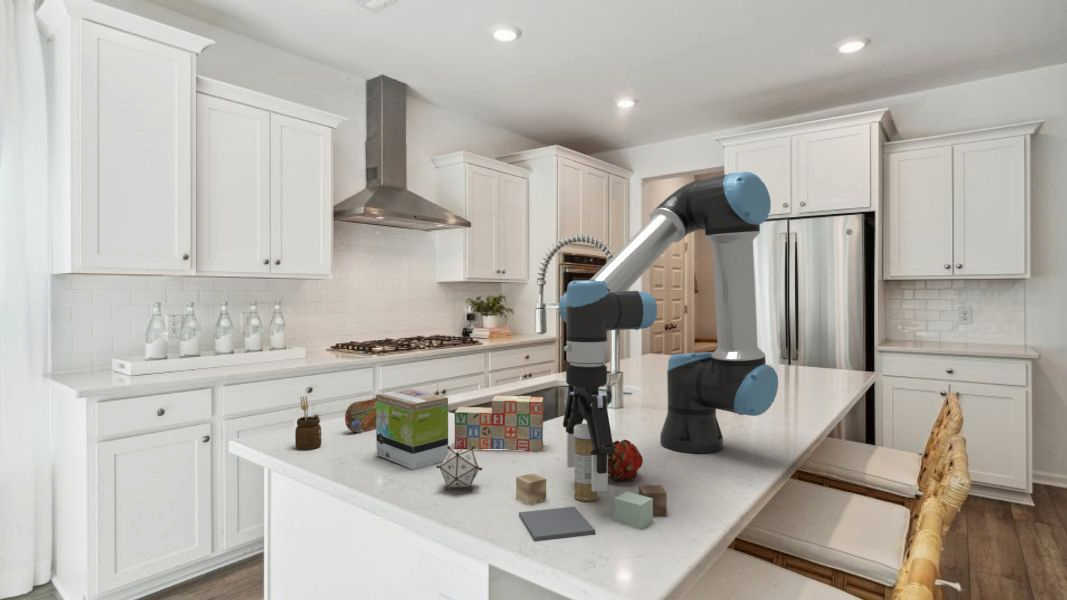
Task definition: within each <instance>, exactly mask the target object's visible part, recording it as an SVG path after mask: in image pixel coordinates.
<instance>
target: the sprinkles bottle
mask: <svg viewBox="0 0 1067 600" xmlns="http://www.w3.org/2000/svg"><path fill="white" fill-rule="evenodd" d="M574 438H575V453H574V467H573V468H574V476H573V477H574V494H573V496H574V498H575V499H576V500H579V501H581V502H593V501H596V500H597V499H598V498H599V494H598V492H599V491H595V492H593V491H592V455H591V454H590V453H591V451H592V450H594V449H593V445H592V441H591V437H590V433H589V429H588V425H587V423H582V424H578V425H575V426H574Z"/></svg>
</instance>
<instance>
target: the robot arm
mask: <svg viewBox="0 0 1067 600" xmlns="http://www.w3.org/2000/svg"><path fill="white" fill-rule="evenodd" d="M771 206H772V203H771V197H770V193H769V190H768V187H767V186H766V184H765V182H764V181H762V179H761V178H760V177H759V176H758V175H757V174H756V173H753V172H750V171H741V172H732V173H726V174H721V175H718V176H713V177H709V178H705V179H698V180H693V181H690V182H689V183H687V184H685V185H682V186H681V187H680V188H678V189H677V190H675V191H674V192H673V193H671V194H670V195H669V196H668V197H666V198H665V199H664V200H663V201H662V202H661V203H659V205H657V206H656V207H655V208H654V210H652V211H651V213H650V216H649V221H647V222H646V223H645V224H644V225H643V227H641V228H640V229H639V230H638V231H637V232H636V234H635V235H633V236H632V237H631V238H630V239H629V240H628V241H627V242H626V244H623V245H624V246H622V247H621V248H620V249H619V250H618V251H617V252H616V253H615V255H613V256H612V257H611V258H610V259H609V260H608V261H607V262H606V263H605V264H604V265H603V266H602V267H601V268H600V269H599V270H598V271H597V272H596V273H595V274H594V275H593V276H592V277H591V278H590V279H588V280H572V281H570V282H569V283H568V284H567V289H566V292H565V293H564V294H563V295H562V296H561V297H560V300H559V302H558V312H559V315H560V317H561V319H562V320H563V321H564V322H565V323H566V329H565V330H566V345H565V346H564V347H563V350H564V352H566V361H567V363H568V364H567V365H566V366H565V369H566V371H565V383H566V385H568V387H567V389H568V390H567V393H568V394H567V398H566V405H565V409H564V410H565V412H564V416H563V422H562V427H563V428H565V432H566V468H569V469H570V468H574V453H575V438H574V426H575V425H578V424H583V422H584V420H585V421H586V424H587V425H588V429H589V433H590V437H591V441H592V445H593V449H594V450H592V451H591V453H590V454H591V455H592V491H593V492H595V491H598V492H602V491H603V492H604V491H608V486H609V485H608V481H609V479H608V478H609V477H608V476H609V474H608V454H609V453H613V452H614V447H613V442H614V441H613V436H612V430H611V425H610V419H609V412H608V401H607V399H608V397H607V395H604V394H603V395H602V394H601V395H600V393H599V392H600V391H599V389H600V388H601V387H604V386H606V385H607V382H608V367H607V366H606V364H605V363H607V362H608V331H621V330H622V331H625V330H627V331H628V330H635V331H639V330H641V329H642V330H643V329H647V328H650V327H652V325H653V324H654V323H655V321H656V320H657V315H658V304H657V300H656V299H655V298H654V296H653V295H652V294H651V293H649V292H647V291H640V290H632V291H631V290H629V289H630V288H631V287H632V286H633V285H634V283H636V282H637V281H638V280H639V278H641V277H642V275H643V274H644V273H645V272H647V270H649V268H650V267H651V266H652V265H653V264H654V263H655V262H656V261H657V260H658V259H659V258H660V257H661V255H663V253H664V252H666V250H668V248H669V247H670V246H671V245H673V243H679V242H680V241H682V240H683V239H684V238H685V237H686V236H687V235H689V234H691V233H694V232H696V231H701V230H702V231H703V230H704V237H705V238H706V239H707V240H708V241H709V242H710V243H711V244H712V257H713V258H712V260H713V274H714V276H713V279H714V294H715V295H714V297H715V318H716V336H717V337H716V339H717V348H716V349H715V350H714V351H710V352H709V351H706V352H705V351H704V352H689V353H678V354H673V355H671V356H670V357H669V358H668V361H667V363H668V365H667V371H666V373H667V376H666V378H667V379H666V380H667V413H666V417H665V420H664V423H663V426H662V428H661V431H660V434H659V435H660V437H659V439H660V440H659V441H660V445H661V446H663V447H664V448H666V449H669V450H673V451H677V452H682V453H690V454H691V453H692V454H708V453H716V452H719V451H722V450H723V449H724V437H723V434H722V430H721V427H720V424H719V422H718V418H717V410H720V411H725V412H729V413H734V414H737V415H741V416H744V415H745V416H752V417H758V416H760V415H763V414H765V413H766V412H767V411H768V410H769V409H770V408H771V406H772V404H773V403H774V402H775V399H776V397H777V393H778V390H779V389H778V388H779V378H778V374H777V372H776V369H774V367H772V366H771V365H769V364H767V363H766V361H767V360H766V353H765V352H764V351H763V350H761V349H760V348H759V346H758V324H757V322H758V321H757V304H756V300H757V299H756V280H755V279H756V278H755V277H756V276H755V259H754V257H755V256H754V240H755V239H756V237H758V235H759V234H760V233H761V228H760V227H761V224H763V223H764V222H765V221H767V219H769V214H770V213H771Z"/></svg>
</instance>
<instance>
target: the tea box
mask: <svg viewBox="0 0 1067 600" xmlns="http://www.w3.org/2000/svg"><path fill="white" fill-rule="evenodd" d="M375 398H376V429H375V430H376V435H375V436H376V443H375V446H376V449H375V450H376V456H377V457H381V458H384V459H387V461H392V462H393V463H396V464H397V465H398V464H399V465H401V466H403V467H406V468H407V469H410V470H412V471H415V470H418V469H423V468H426V467H429V466H432V465H436V464H439V463H440V464H441V463H442V462H443V460H444V458H445V456H446V455H447V453H448V451H449V449H448V446H449V397H447V396H443V395H442V396H441V395H439V394H434V393H429V392H425V391H421V390H417V389H412V388H408V389H401V390H397V391H396V390H395V391H391V392H386V393H385V392H384V393H378V394H377V393H376V394H375Z"/></svg>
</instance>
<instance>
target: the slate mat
mask: <svg viewBox="0 0 1067 600" xmlns="http://www.w3.org/2000/svg"><path fill="white" fill-rule="evenodd" d="M518 516H519V518H520V520H521V521H522V523H523V525H524V527H525V528H526V529H527V531H528V533H529V534H530V536H531V538H532V539H533V541H534V542H535V541H536V542H537V541H546V540H552V539H561V538H563V539H564V538H569V537H577V536H578V537H579V536H580V537H581V536H587V535H595V534H596V529H595V527H593V526H592V525H591V523H590V522H589V521H588V520H587V519H586V518H585V517H584V515H583V514H582V512H580V511H579V510H578V509H577V508H576V506H566V507H559V508H558V507H557V508H549V509H548V508H547V509H537V510H529V511H519V512H518Z"/></svg>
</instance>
